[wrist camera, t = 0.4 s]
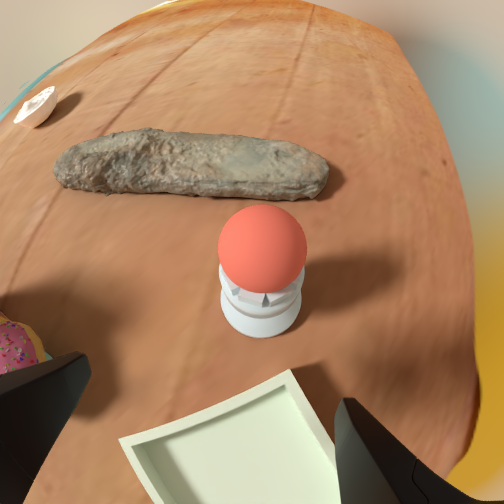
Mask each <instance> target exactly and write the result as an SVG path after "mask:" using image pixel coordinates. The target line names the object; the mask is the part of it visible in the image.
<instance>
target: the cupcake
mask: <svg viewBox="0 0 504 504" xmlns="http://www.w3.org/2000/svg"><path fill="white" fill-rule="evenodd" d="M51 359H53V358H52V357H51V356H50V355H49V354H48V353H46V352H45V351H44V348H43V344H42V341H41V340H40V338H39V337H38V336H37V335H36V334H35V332H34V331H33V330H32V329H31V328H30V327H29V326H28V325H25V324H23V323H20V322H10V321H7V322H5V323H3V324H0V374H4V373H7V372H11V371H14V370H18V369H21V368H25V367H28V366H31V365H35V364H38V363H41V362H45V361H48V360H51Z"/></svg>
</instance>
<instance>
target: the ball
mask: <svg viewBox="0 0 504 504" xmlns="http://www.w3.org/2000/svg"><path fill="white" fill-rule="evenodd" d="M218 255H219V260H220V264H221V266H222V268H223V270H224V272H225V274H226V275H227V276H228V278H229V279H230V280H231V281H232V282H233V283H234V284H236V285H237V286H239V287H240V288H242V289H244V290H247V291H249V292H254V293H272V292H275V291H278V290H281V289H283V288H285V287H286V286H288V285H289V284H290V283H292V282H293V281H294V280H295V279H296V278H297V276H298V275H299V274H300V272H301V270H302V268H303V266H304V263H305V260H306V255H307V243H306V238H305V234H304V232H303V230H302V228H301V226H300V224H299V223H298V222H297V220H296V219H295V218H294V217H293V216H292V215H291V214H289V213H288V212H286V211H285V210H283V209H281V208H278V207H276V206H272V205H264V204H262V205H253V206H249V207H247V208H244V209H242V210H240V211H239V212H237V213H236V214H234V215H233V216H232V217H231V218H230V219H229V220H228V221H227V223H226V224H225V226H224V228H223V230H222V232H221V234H220V237H219V243H218Z"/></svg>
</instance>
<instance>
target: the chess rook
mask: <svg viewBox="0 0 504 504" xmlns="http://www.w3.org/2000/svg"><path fill="white" fill-rule="evenodd" d="M304 275H305V269H304V266H303V268H302V270H301V272H300V274H299V275H298V276H297V278H296V279H295V280H294V281H293V282H292V283H290V284H289V285H288V286H286V287H285V288H283V289H281V290H278V291H275V292H272V293H254V292H249V291H247V290H244V289H242V288H240V287H239V286H237V285H236V284H234V283H233V282H232V281H231V280H230V279H229V278H228V276H227V275H226V274H225V272H224V270H223V268H222V266H221V264H220V267H219V276H220V281H221V284H222V291H221V306H222V310H223V312H224V315H225V317H226V319H227V320H228V322H229V323H230V325H231V326H232V327H233V328H234V329H235V330H236V331H238V332H239V333H241V334H243V335H245V336H247V337H250V338H255V339H267V338H272V337H275V336H277V335H279V334H281V333H283V332H284V331H286V330H287V329H288V328H289V327H290V326H291V325H292V324H293V322H294V321H295V319H296V317H297V315H298V313H299V310H300V307H301V300H302V297H301V290H300V289H301V287H302V284H303V281H304Z"/></svg>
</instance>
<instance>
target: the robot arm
mask: <svg viewBox="0 0 504 504" xmlns="http://www.w3.org/2000/svg"><path fill="white" fill-rule="evenodd" d="M90 377H91V369H90V365H89V362H88V358H87V356H86V355H85V354H83V353H81V352H73V353H70V354H67V355H64V356H61V357H57V358H54V359H51V360H48V361H45V362H41V363H38V364H35V365H31V366H28V367H25V368H21V369H18V370H14V371H11V372H7V373H4V374H0V504H23V502H24V500H25V498H26V496H27V494H28V492H29V490H30V488H31V486H32V484H33V482H34V481H33V480H35V478H36V476H37V474H38V472H39V470H40V468H41V466H42V464H43V463H44V461H45V459H46V457H47V455H48V454H49V452H50V450H51V448H52V446H53V445H54V443H55V441H56V439H57V438H58V436H59V434H60V433H61V431H62V429H63V428H64V426H65V424H66V422H67V421H68V419H69V418H70V416H71V414H72V413H73V411H74V409H75V408H76V406H77V404H78V402H79V400H80V398H81V396H82V393H83V391H84V389H85V387H86V385H87V383H88V381H89V379H90ZM334 425H335V460H336V468H337V475H338V483H339V491H340V499H341V504H504V500H503V501H480V500H476V499H474V498H471V497H469V496H468V495H466V494H464V493H463V492H461V491H460V490H458V489H457V488H455V487H454V486H452V485H451V484H449V483H448V482H446V481H445V480H444V479H442V478H441V477H439V476H438V475H437V474H435V473H434V472H433V471H432V470H431V469H429V468H428V467H427V466H426V465H425V464H424V463H422V462H421V461H420V460H419V459H416V458H417V457H416V456H415V455H414V454H413V453H411V452H410V451H409V450H408V449H407V448H406V447H405V446H404V445H403V444H402V443H401V442H400V441H399V440H398V439H397V438H395V437H394V436H393V435H392V434H391V433H390V432H389V431H388V430H387V429H386V428H385V427H384V426H383V425H382V424H381V423H380V422H379V421H378V420H377V419H376V418H375V417H373V416H372V415H371V414H370V413H369V412H368V411H367V410H366V409H365V408H364V407H363V406H362V405H361V404H360V403H359V402H358V401H357V400H356V399H355V398H342V399H341V401H340V403H339V406H338V408H337V411H336V414H335V418H334Z"/></svg>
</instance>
